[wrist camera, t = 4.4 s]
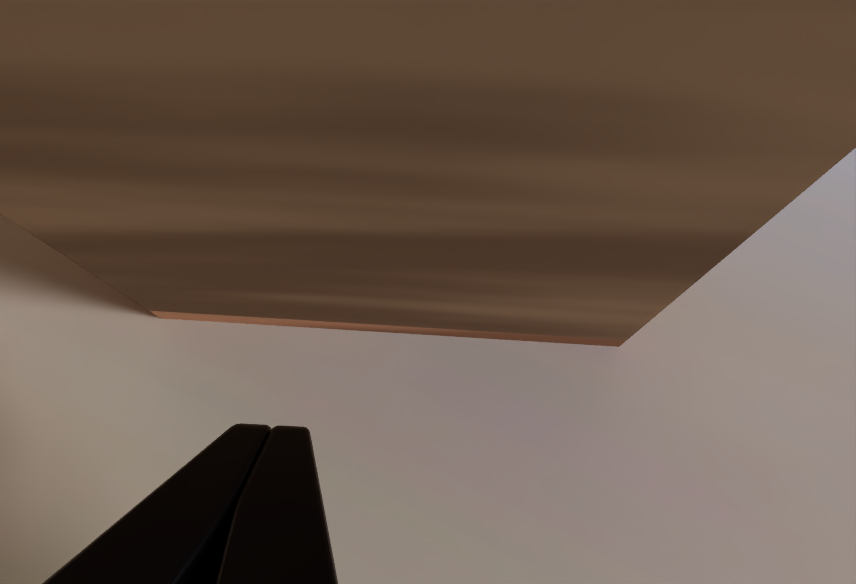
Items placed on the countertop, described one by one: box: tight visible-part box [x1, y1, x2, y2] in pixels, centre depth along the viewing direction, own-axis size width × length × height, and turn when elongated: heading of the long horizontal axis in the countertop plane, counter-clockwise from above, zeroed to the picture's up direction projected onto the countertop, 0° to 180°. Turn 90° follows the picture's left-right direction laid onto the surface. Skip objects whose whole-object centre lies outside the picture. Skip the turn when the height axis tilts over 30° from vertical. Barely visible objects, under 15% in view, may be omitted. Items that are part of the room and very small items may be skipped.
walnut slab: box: [0, 0, 856, 347], centre depth 13 cm, size 3×12×14 cm, turn 86°
